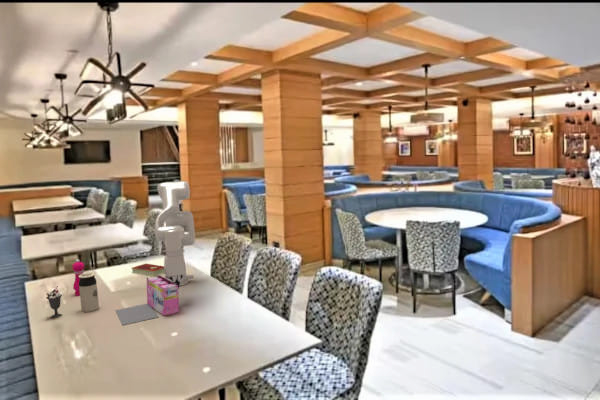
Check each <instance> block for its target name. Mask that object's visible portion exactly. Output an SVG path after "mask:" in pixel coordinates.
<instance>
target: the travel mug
mask: <svg viewBox="0 0 600 400" xmlns="http://www.w3.org/2000/svg"><path fill="white" fill-rule="evenodd" d="M95 276H96V273H94V272H86V273H85V272H84V273H83V274H81V275H79V278H80V281H79V290H80V296H79V299H80V307H81V312H83V313H91V312H95V311H96V310H98V309H99V308H100V305H99V295H98V285H97V279H96V278H95Z"/></svg>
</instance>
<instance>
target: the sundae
mask: <svg viewBox="0 0 600 400" xmlns="http://www.w3.org/2000/svg"><path fill="white" fill-rule="evenodd" d="M61 297H63V294H61V293H60V292H59V290H58V289H57V287H54V289H53V290H51V291H50V292H49V293H46V300H48V303H49V306H50V309H52V310H54V314H53V315H51V316H50V318H51V319H58V318H61V317H62V316H63V314H62V313H59V312H58V309H59V308H60V307H61V300H62V299H61Z"/></svg>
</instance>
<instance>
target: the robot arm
mask: <svg viewBox="0 0 600 400" xmlns="http://www.w3.org/2000/svg"><path fill="white" fill-rule="evenodd" d="M157 192H158V196H159V198H160V199H161V201H162V211H160V212H159V214H158V215H157V217H156V219H155V220H154V236H155V239H156V241H158V242H164V246H165V254H166V255H165V256H164V258H163V259H164V260H163V266H164V278H165V279H167V280H169V281H171V282H173V283H175V284H177V285H178V289H179V290H180V287H181V286H184V285H187V284H189V279H194V274H187V267H186V266H187V265H186V261H185V255H184V254H185V249H182V247H188V246H193V245H195V242H196V234H195V233H196V232H195V231H196V230H195V222H194V221H195V219H194V215H193V213H192V212H191V211H190V210H183V211H181V210H180V201H182V200H183V201H184V200H189V199H190V196H191V189H190V185H189V182H188V181H186V180H185V181H184V180H183V181H165V182H161V183H158V185H157ZM163 222H165V225H164V226H161V225H162V223H163ZM184 228H185V229H184Z"/></svg>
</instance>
